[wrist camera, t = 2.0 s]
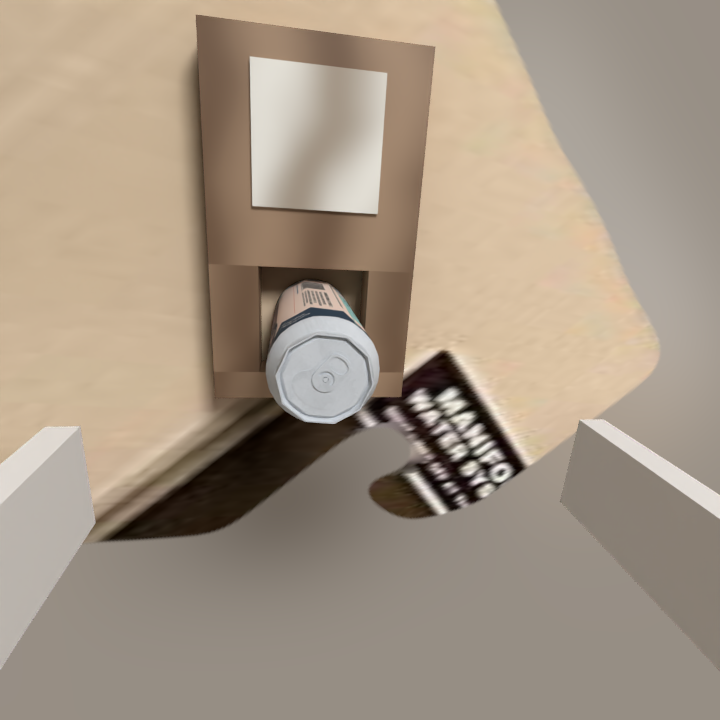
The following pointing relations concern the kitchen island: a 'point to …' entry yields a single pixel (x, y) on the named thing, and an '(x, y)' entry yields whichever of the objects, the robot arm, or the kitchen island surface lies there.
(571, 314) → the kitchen island surface
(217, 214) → the pocket board
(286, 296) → the beer can
